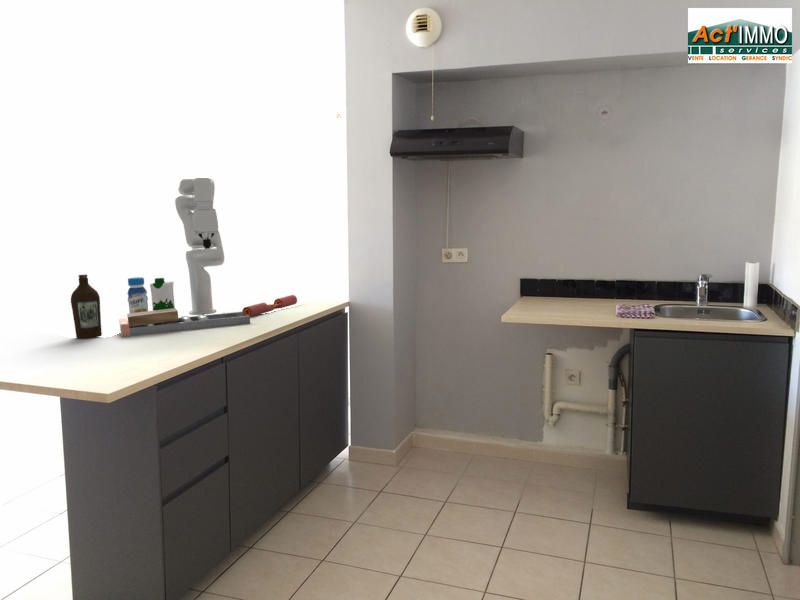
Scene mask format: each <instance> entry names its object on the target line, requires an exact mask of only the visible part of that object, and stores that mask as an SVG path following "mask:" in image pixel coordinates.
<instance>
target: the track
mask: <svg viewBox="0 0 800 600" xmlns="http://www.w3.org/2000/svg"><path fill="white" fill-rule="evenodd" d="M204 315H205V316H206V317H208V318H209V319H210V320H200V321H197V317H198V315H191V316H188V317H189V318H190V319H191V320H192V321H190V322H180V318H181V317H178V319H179V321H172V322H173V323H170V324H162V323H154V325H151V326H144V325H138V326H130V327H129V322H128V317H127V318H120V319H118V321H119V329H120V330H119V331H120V335H121V337H122V338H127V337H134V336H145V335H152V334H153V335H154V334H160V333H161V334H162V333H171V332H172V333H173V332H181V331H192V330H202V329H209V328H218V327H219V328H220V327H228V326H237V325H238V326H239V325H247V324H251V317H250V316H243V312H242V311H237V312H236V311H235V312H233V311H232V312H224V313H212V314H204Z"/></svg>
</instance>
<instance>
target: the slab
mask: <svg viewBox="0 0 800 600" xmlns="http://www.w3.org/2000/svg"><path fill="white" fill-rule="evenodd" d="M126 314H127V315H126V316H127V320H128V322H129V327H130V326H138V325H146V324H154V323H163V322H171V321H179V319H178V318H179V311H178V309H177V308H176V307H175V308H172V309H163V310H154V311H153V310H148V311H146V312H137V313H130V312H129V313H126Z"/></svg>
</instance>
